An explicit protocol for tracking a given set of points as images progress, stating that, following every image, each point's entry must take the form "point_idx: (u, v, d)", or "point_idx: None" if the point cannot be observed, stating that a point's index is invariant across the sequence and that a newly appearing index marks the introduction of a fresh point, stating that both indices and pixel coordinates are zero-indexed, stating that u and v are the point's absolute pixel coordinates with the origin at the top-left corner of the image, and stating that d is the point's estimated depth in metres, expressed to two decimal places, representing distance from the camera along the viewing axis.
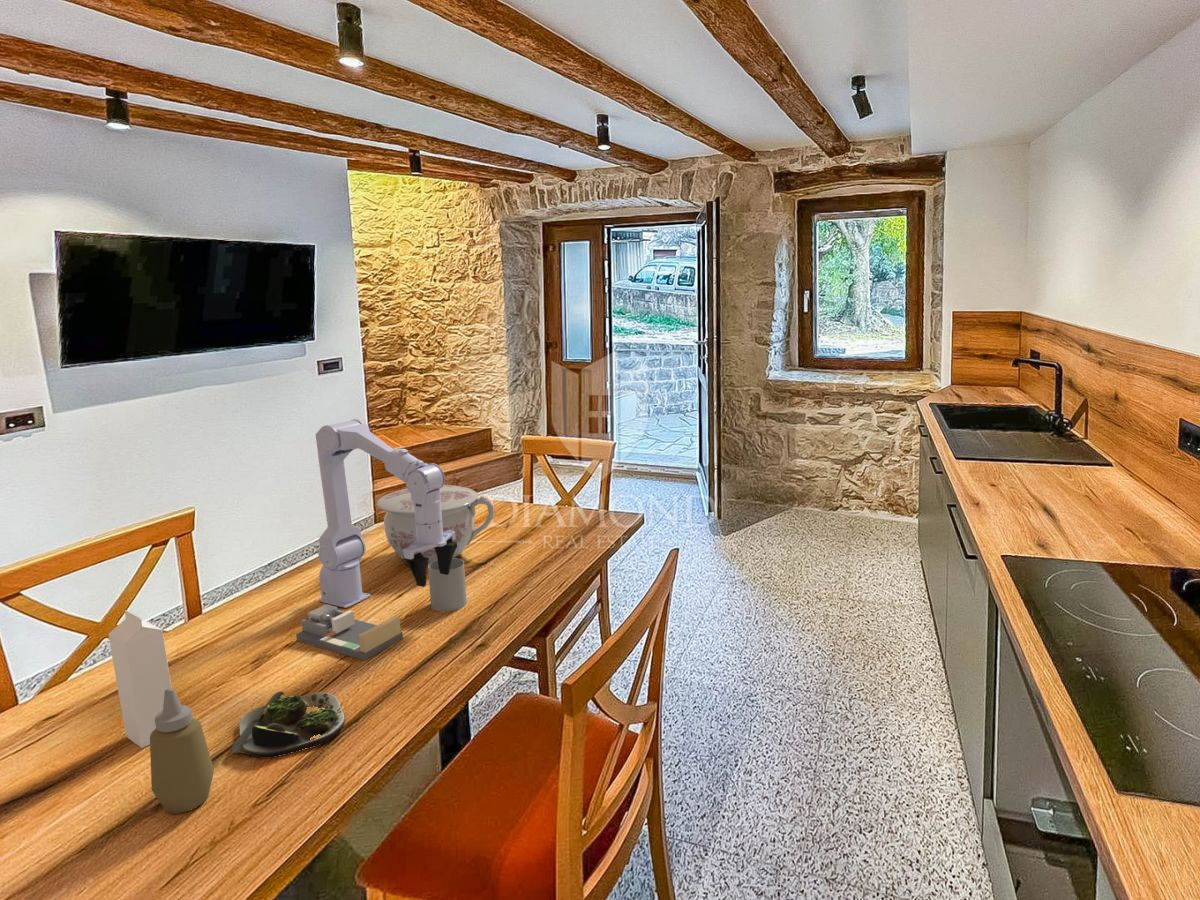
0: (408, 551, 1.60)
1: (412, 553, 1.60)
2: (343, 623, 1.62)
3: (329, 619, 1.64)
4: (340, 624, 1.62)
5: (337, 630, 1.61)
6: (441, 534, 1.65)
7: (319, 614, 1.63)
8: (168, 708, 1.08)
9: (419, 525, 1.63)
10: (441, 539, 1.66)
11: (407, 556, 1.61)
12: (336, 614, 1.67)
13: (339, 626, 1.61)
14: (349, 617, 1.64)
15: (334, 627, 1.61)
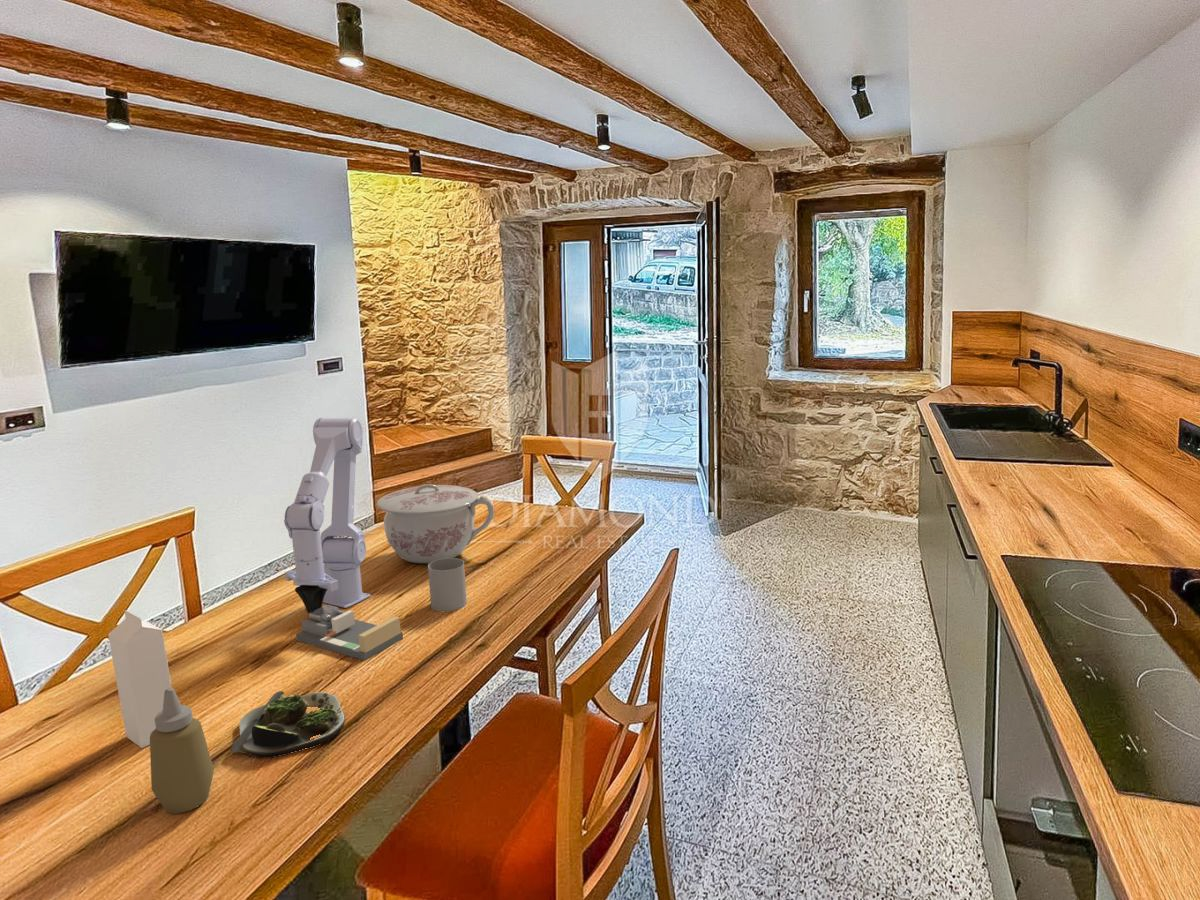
0: None
1: (286, 575, 1.68)
2: (343, 623, 1.62)
3: (330, 619, 1.64)
4: (340, 624, 1.62)
5: (337, 630, 1.61)
6: (301, 574, 1.62)
7: (320, 614, 1.63)
8: (168, 708, 1.08)
9: None
10: (301, 579, 1.63)
11: None
12: (337, 614, 1.67)
13: (339, 626, 1.61)
14: (349, 617, 1.64)
15: (334, 627, 1.61)
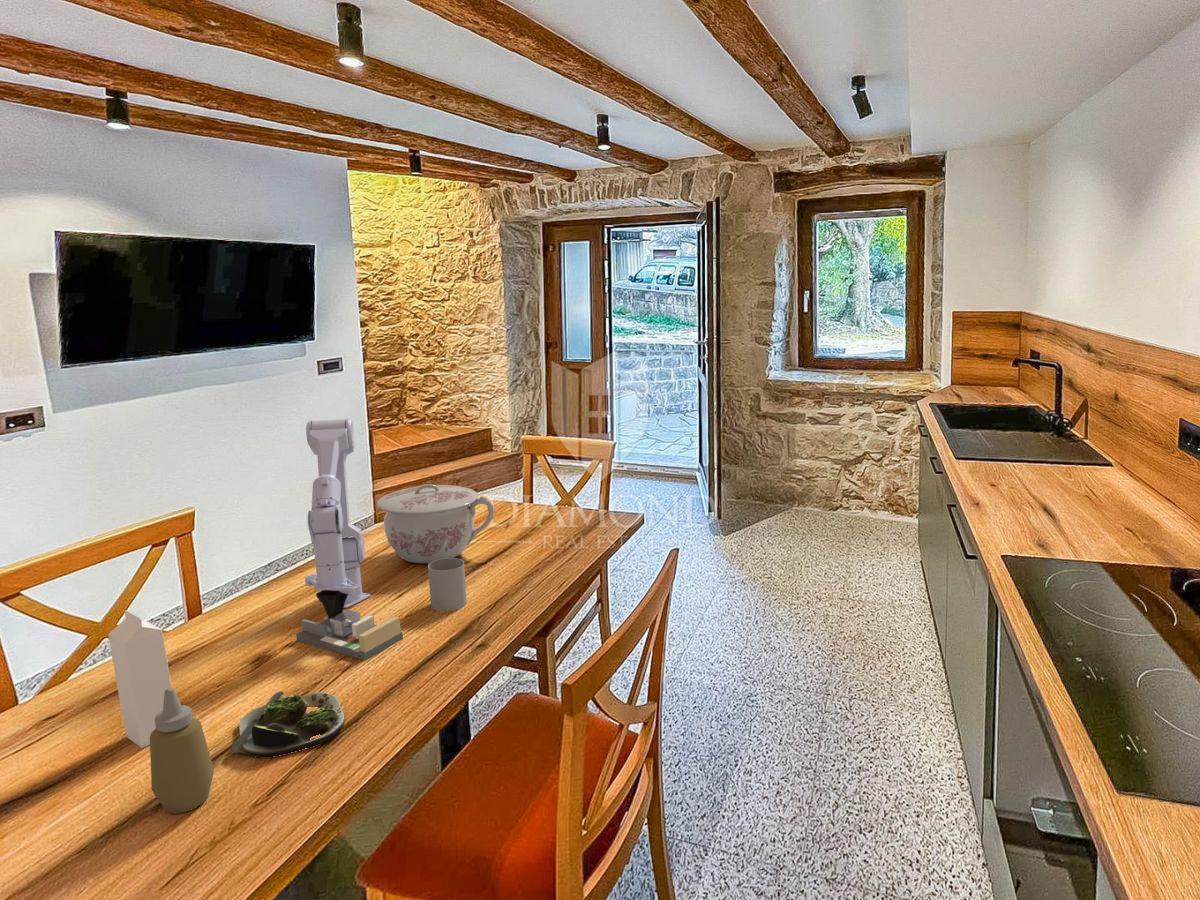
0: None
1: (306, 580, 1.65)
2: (364, 628, 1.60)
3: (351, 625, 1.61)
4: (360, 630, 1.59)
5: (357, 636, 1.58)
6: (323, 579, 1.59)
7: (341, 620, 1.60)
8: (168, 708, 1.08)
9: None
10: (323, 584, 1.59)
11: None
12: (358, 620, 1.64)
13: (359, 632, 1.59)
14: (369, 622, 1.61)
15: (355, 632, 1.58)
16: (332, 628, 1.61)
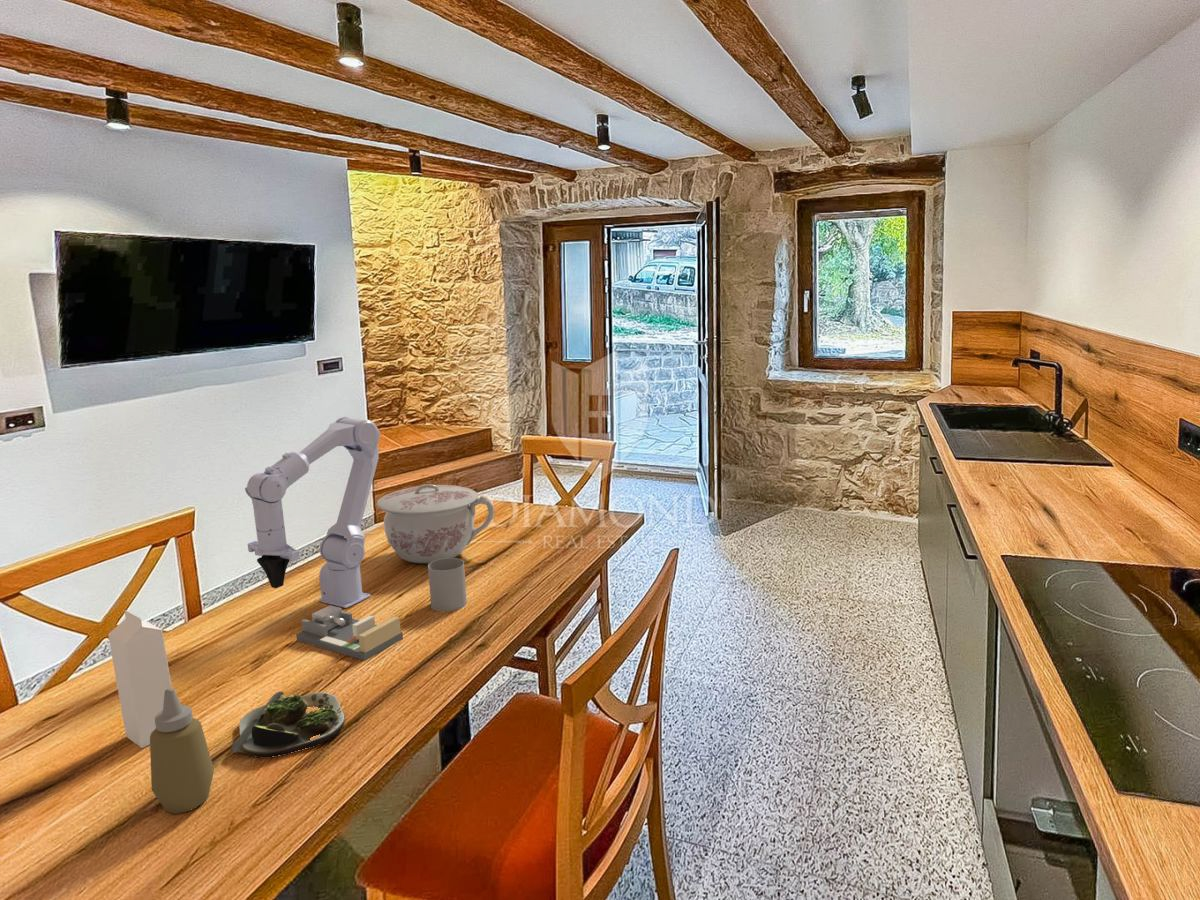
0: None
1: (249, 547, 1.69)
2: (364, 628, 1.59)
3: (333, 620, 1.64)
4: (361, 630, 1.59)
5: (358, 636, 1.58)
6: (263, 544, 1.64)
7: (323, 615, 1.63)
8: (168, 708, 1.08)
9: None
10: (263, 549, 1.64)
11: None
12: (340, 615, 1.66)
13: (360, 632, 1.58)
14: (370, 623, 1.61)
15: (355, 633, 1.58)
16: None
